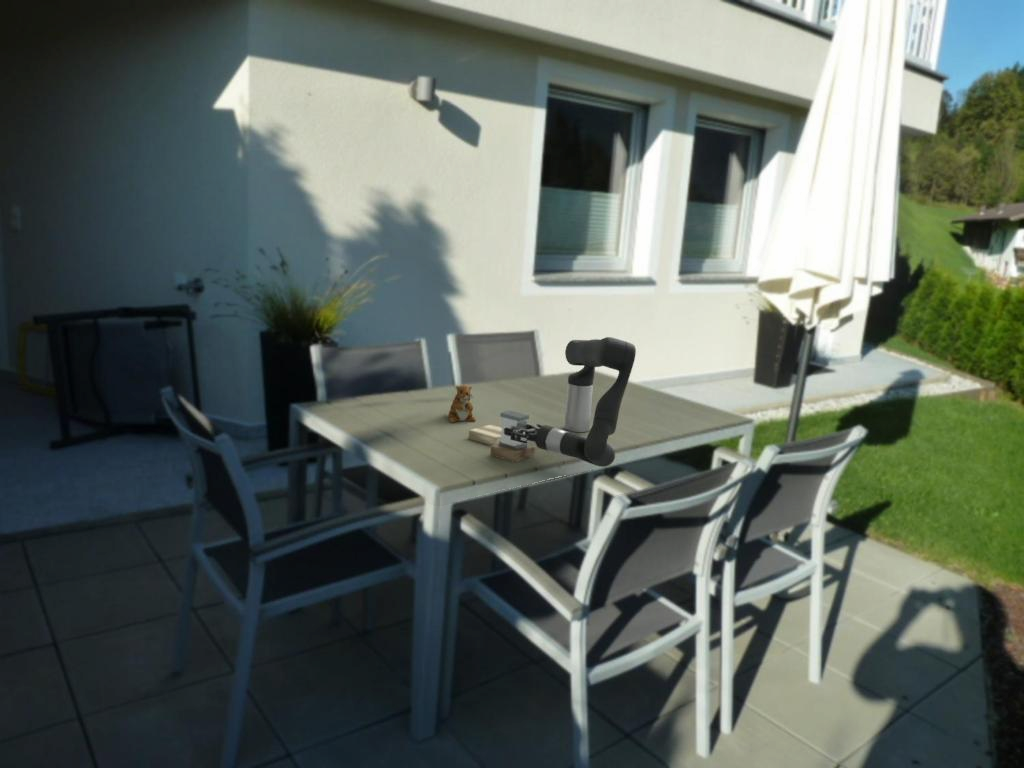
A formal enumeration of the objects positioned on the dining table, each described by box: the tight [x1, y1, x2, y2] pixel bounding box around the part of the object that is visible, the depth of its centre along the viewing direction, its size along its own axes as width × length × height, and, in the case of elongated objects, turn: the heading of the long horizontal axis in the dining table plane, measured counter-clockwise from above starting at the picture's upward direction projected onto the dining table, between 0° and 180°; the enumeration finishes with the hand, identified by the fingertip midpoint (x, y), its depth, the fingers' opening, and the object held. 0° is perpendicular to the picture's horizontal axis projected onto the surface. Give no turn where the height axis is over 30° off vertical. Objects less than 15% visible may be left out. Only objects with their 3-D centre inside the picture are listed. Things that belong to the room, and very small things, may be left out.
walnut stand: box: [490, 444, 536, 463], centre depth 244 cm, size 10×10×3 cm
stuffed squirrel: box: [448, 385, 477, 423], centre depth 284 cm, size 10×14×13 cm
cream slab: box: [468, 423, 502, 446], centre depth 261 cm, size 12×12×3 cm
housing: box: [499, 410, 530, 451], centre depth 242 cm, size 5×8×11 cm, turn 51°
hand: (513, 428), depth 243 cm, fingers open, 8 cm apart
